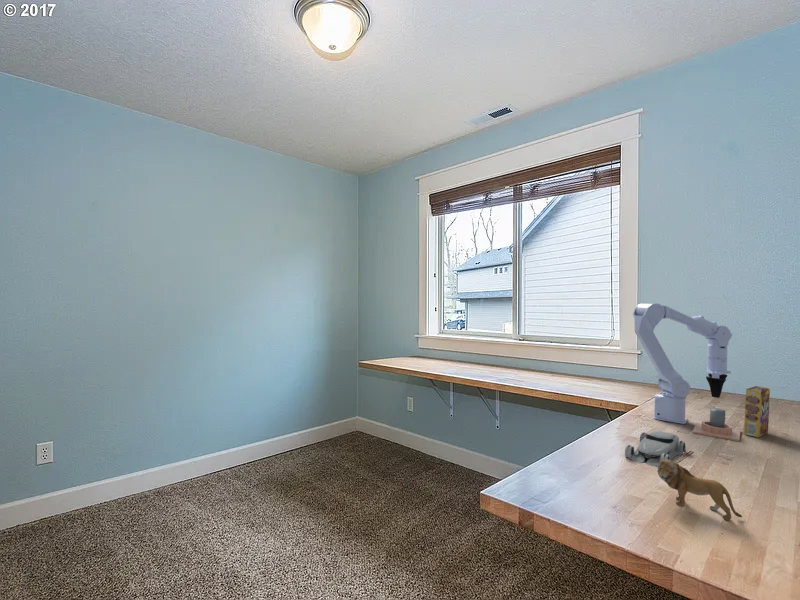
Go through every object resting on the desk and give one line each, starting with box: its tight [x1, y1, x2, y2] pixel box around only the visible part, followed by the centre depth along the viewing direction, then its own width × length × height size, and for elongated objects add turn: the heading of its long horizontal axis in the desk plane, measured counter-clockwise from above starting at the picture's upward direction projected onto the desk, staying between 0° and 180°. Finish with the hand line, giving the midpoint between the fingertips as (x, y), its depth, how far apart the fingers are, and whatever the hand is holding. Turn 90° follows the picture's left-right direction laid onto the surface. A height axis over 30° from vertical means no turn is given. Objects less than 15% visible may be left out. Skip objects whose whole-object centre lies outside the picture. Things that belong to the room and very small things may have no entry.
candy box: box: [743, 385, 771, 439], centre depth 137 cm, size 9×4×15 cm, turn 123°
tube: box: [709, 407, 726, 428], centre depth 138 cm, size 4×4×7 cm
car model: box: [624, 430, 687, 468], centre depth 120 cm, size 11×24×5 cm, turn 134°
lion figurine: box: [656, 459, 743, 521], centre depth 88 cm, size 15×5×9 cm, turn 53°
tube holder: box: [692, 420, 741, 442], centre depth 138 cm, size 12×12×3 cm
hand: (716, 395), depth 151 cm, fingers open, 7 cm apart
